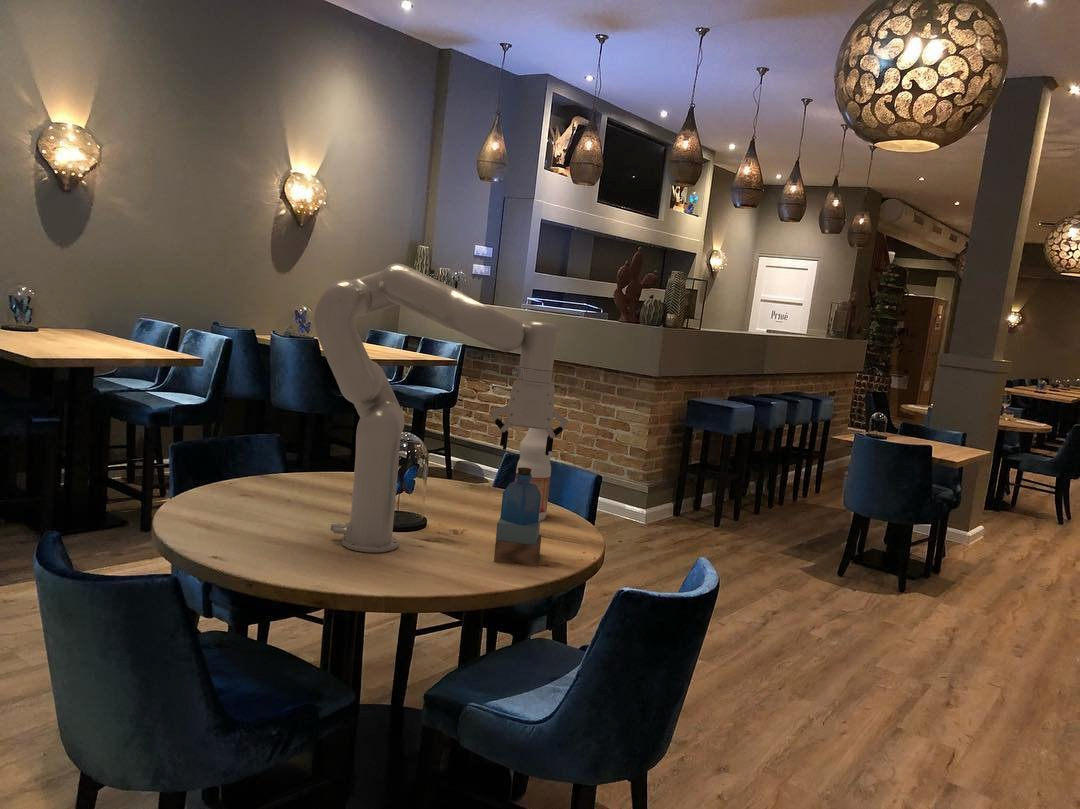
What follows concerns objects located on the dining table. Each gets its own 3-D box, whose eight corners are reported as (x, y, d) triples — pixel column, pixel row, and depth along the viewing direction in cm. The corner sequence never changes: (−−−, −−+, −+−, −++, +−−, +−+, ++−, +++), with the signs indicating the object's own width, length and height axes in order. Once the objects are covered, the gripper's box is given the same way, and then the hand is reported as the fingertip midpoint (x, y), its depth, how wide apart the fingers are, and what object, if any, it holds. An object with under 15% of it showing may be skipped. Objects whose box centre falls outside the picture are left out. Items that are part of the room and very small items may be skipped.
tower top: (495, 540, 191) (497, 522, 190) (500, 530, 199) (502, 513, 199) (535, 545, 190) (537, 528, 189) (538, 534, 199) (540, 518, 198)
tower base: (493, 563, 190) (495, 541, 190) (496, 550, 200) (498, 529, 200) (538, 568, 190) (540, 546, 189) (539, 555, 200) (541, 534, 199)
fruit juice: (525, 523, 227) (537, 419, 223) (504, 514, 234) (515, 413, 231) (552, 520, 233) (564, 419, 229) (531, 511, 240) (541, 413, 237)
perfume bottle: (517, 515, 199) (522, 465, 197) (538, 521, 195) (543, 470, 193) (500, 519, 194) (505, 467, 192) (521, 525, 190) (526, 472, 189)
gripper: (495, 373, 187) (486, 449, 189) (573, 383, 187) (563, 459, 189) (497, 370, 194) (488, 444, 196) (572, 380, 194) (563, 453, 196)
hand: (525, 451), depth 193 cm, fingers open, 9 cm apart
